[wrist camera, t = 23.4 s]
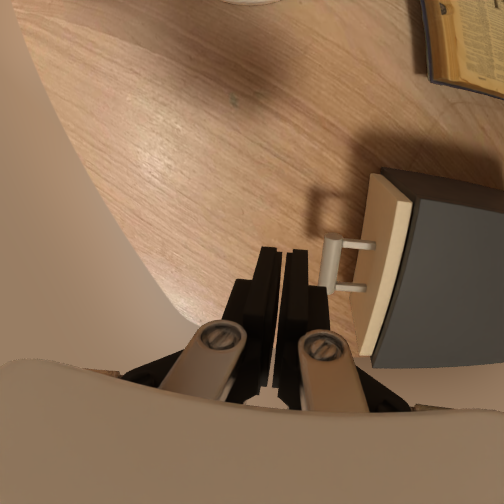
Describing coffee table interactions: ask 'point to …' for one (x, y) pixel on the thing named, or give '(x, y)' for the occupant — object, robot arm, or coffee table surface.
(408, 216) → the drawer
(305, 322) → the robot arm
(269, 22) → the coffee table surface
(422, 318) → the cabinet
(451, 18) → the book
